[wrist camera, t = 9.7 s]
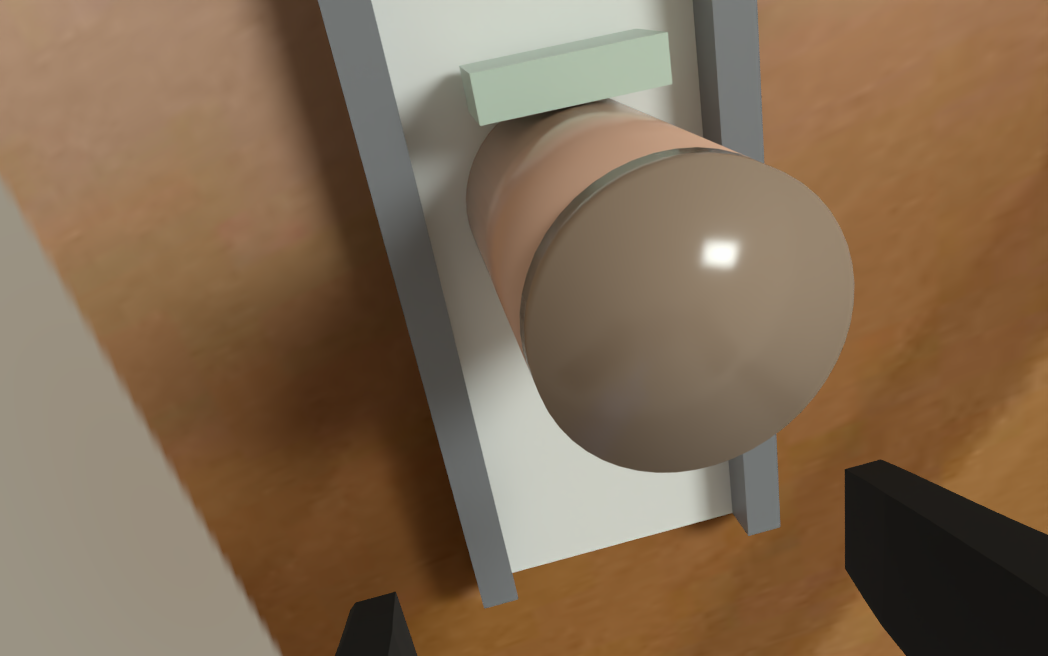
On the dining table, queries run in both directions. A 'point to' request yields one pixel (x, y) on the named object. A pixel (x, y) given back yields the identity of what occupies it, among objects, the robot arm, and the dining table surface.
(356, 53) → the pusher lane
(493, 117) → the plate
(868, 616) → the dining table surface
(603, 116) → the terracotta jar
